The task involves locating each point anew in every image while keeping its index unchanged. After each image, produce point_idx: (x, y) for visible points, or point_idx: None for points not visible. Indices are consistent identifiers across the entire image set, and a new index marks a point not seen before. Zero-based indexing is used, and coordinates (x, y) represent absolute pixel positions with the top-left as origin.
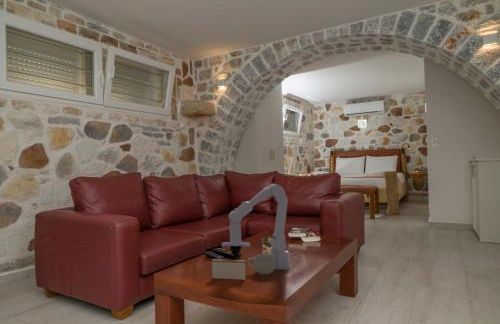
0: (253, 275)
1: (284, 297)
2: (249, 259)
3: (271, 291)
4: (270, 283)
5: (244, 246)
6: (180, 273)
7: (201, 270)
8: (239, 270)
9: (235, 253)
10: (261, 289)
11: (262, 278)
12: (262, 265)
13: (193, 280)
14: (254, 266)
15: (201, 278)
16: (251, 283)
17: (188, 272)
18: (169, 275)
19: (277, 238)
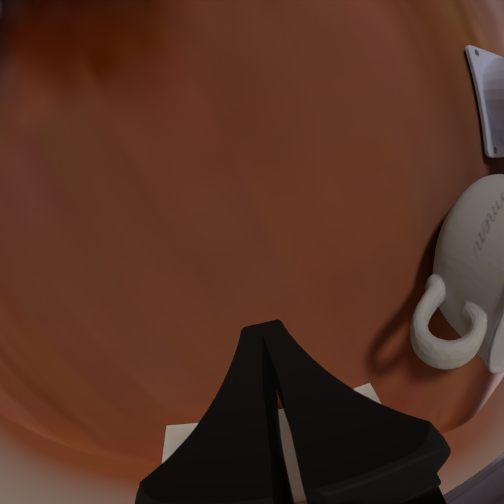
0: (410, 317)
1: (477, 411)
2: (449, 367)
3: (459, 408)
4: (471, 362)
5: (492, 470)
6: (3, 393)
7: (19, 344)
8: None
9: (279, 443)
10: (434, 417)
11: (452, 333)
12: (498, 345)
13: (116, 455)
14: (448, 314)
15: (124, 439)
16: (403, 404)
17: (9, 380)
18: (3, 413)
19: None
